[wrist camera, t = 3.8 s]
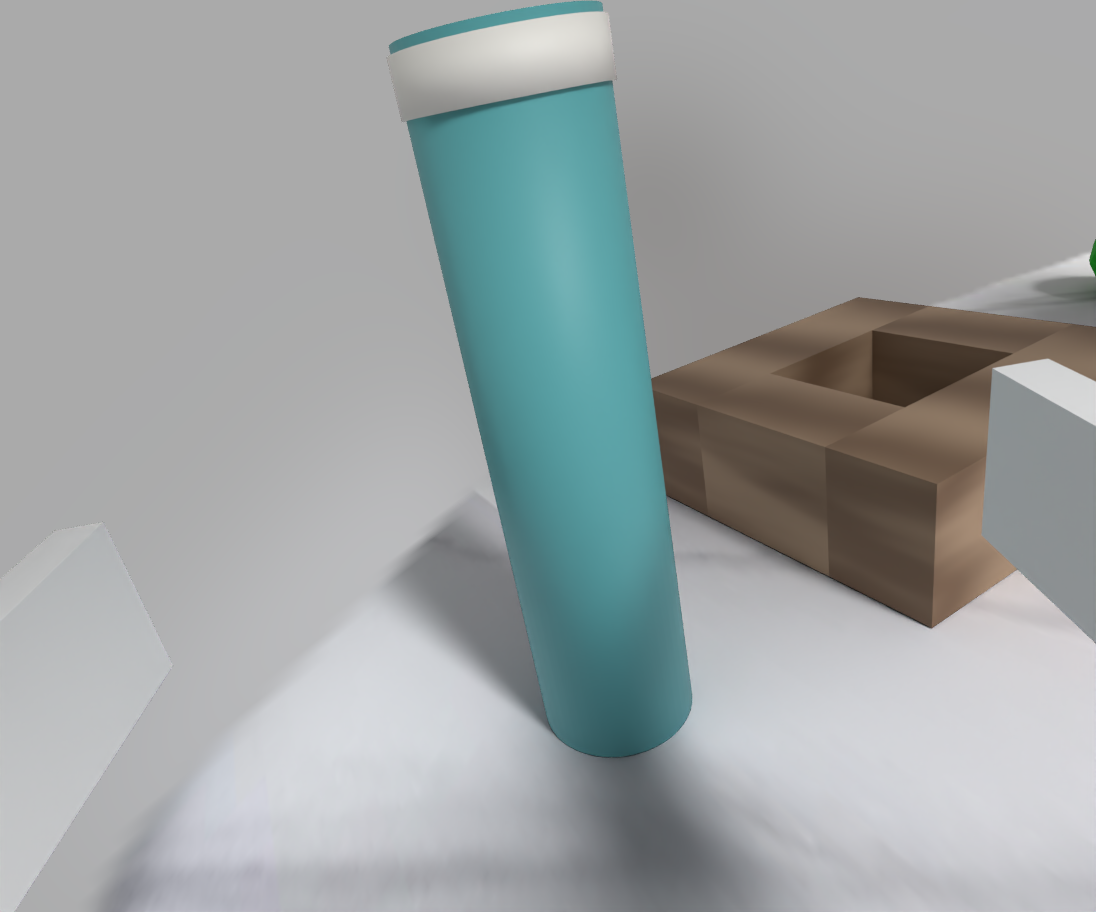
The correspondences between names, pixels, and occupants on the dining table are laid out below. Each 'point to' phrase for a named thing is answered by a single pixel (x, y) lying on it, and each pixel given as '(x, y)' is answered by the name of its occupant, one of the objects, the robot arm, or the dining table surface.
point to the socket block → (858, 442)
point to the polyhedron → (1093, 258)
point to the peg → (555, 353)
